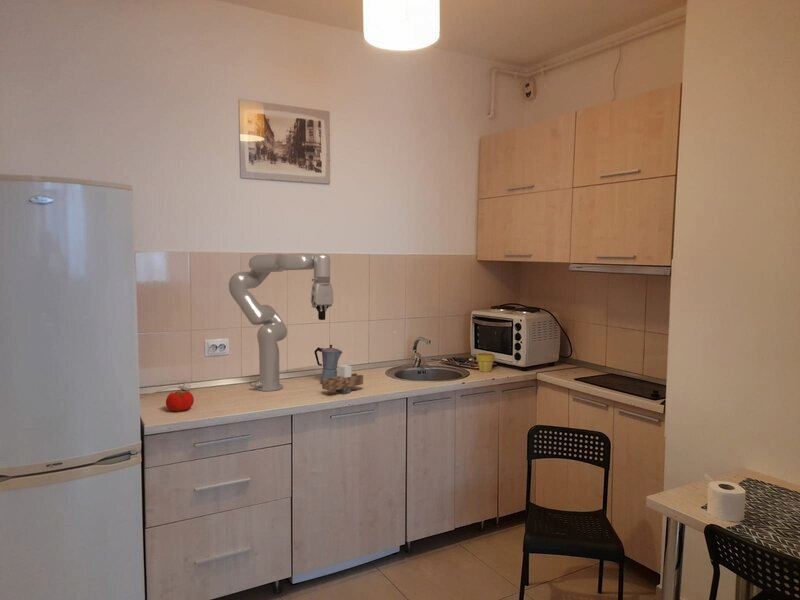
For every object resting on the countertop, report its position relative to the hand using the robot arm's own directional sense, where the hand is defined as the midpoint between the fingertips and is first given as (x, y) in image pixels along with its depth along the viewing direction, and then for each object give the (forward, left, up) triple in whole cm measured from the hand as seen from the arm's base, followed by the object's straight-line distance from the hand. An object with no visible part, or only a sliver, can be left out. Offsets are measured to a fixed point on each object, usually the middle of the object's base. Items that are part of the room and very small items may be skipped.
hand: (321, 319), depth 257 cm
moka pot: (+14, +14, -35) cm, 40 cm away
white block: (+9, -6, -30) cm, 32 cm away
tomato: (-61, +16, -35) cm, 72 cm away
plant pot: (+100, -20, -35) cm, 108 cm away
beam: (+8, -6, -35) cm, 36 cm away
